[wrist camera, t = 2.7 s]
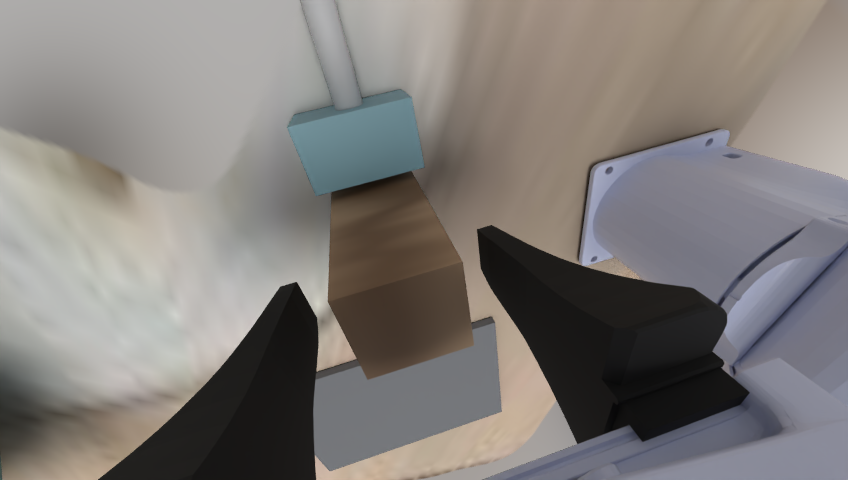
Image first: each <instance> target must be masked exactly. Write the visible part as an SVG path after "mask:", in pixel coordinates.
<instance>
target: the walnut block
mask: <svg viewBox="0 0 848 480" xmlns="http://www.w3.org/2000/svg"><path fill="white" fill-rule="evenodd" d="M328 303H329V305H330V307H331V309H332V311H333V313H334V315H335V317H336V319H337V321H338V323H339V325H340V327H341V328H342V330H343V332H344V334H345V336H346V338H347V340H348V342H349V344H350V346H351V348H352V350H353V352H354V354H355V356H356V358H357V360H358V362H359V364H360V366H361V368H362V370H363V372H364V374H365V376H366V378H367V380H369V379H372V378H376V377H379V376H382V375H385V374H388V373H391V372H394V371H397V370H400V369H403V368H406V367H409V366H413V365H416V364H419V363H422V362H425V361H428V360H431V359H434V358H437V357H440V356H443V355H446V354H449V353H453V352H456V351H459V350H462V349H465V348H468V347H471V346H474V340H473V333H472V326H471V319H470V311H469V304H468V297H467V290H466V283H465V276H464V269H463V262H462V260H461V258H460V256H459V255H458V253H457V251H456V249H455V247H454V246H453V244H452V242H451V240H450V239H449V237H448V235H447V233H446V232H445V230H444V228H443V226H442V225H441V223H440V221H439V219H438V218H437V216H436V214H435V212H434V211H433V209H432V207H431V205H430V203H429V202H428V200H427V198H426V196H425V195H424V193H423V191H422V189H421V188H420V186H419V184H418V182H417V181H416V179H415V177H414V175H413V174H412V172H411V171H409V172H405V173H401V174H398V175H394V176H390V177H386V178H383V179H379V180H375V181H371V182H368V183H364V184H360V185H356V186H352V187H349V188H345V189H341V190H337V191H334V192H332V195H331V224H330V254H329V283H328Z"/></svg>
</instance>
